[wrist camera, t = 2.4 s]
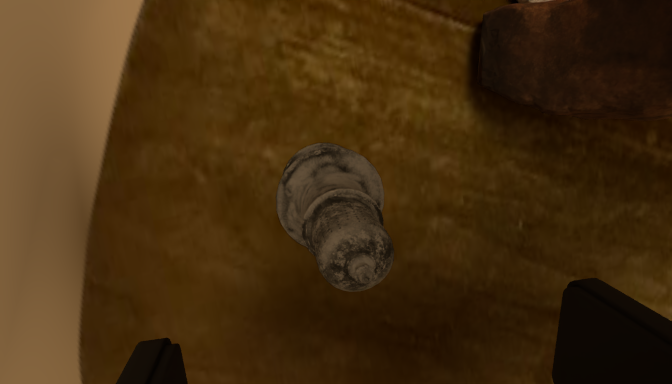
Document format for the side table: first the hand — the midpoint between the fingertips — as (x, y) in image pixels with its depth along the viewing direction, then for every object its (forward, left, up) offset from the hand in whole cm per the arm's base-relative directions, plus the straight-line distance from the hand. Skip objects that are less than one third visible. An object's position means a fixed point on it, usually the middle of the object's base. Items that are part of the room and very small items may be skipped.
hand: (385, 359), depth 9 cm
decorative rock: (-7, +15, -15) cm, 23 cm away
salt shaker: (0, 0, -15) cm, 15 cm away
